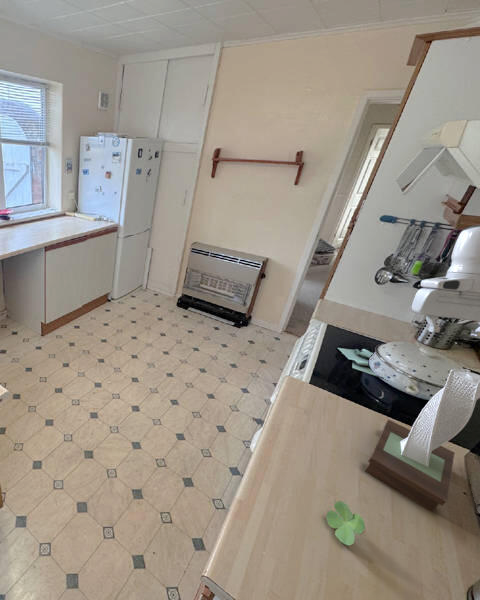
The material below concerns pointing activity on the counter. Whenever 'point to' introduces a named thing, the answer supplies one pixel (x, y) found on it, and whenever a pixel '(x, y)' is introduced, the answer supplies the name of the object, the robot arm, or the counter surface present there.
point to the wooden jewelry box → (411, 468)
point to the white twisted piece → (442, 416)
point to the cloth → (359, 359)
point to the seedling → (345, 523)
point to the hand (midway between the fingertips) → (454, 335)
